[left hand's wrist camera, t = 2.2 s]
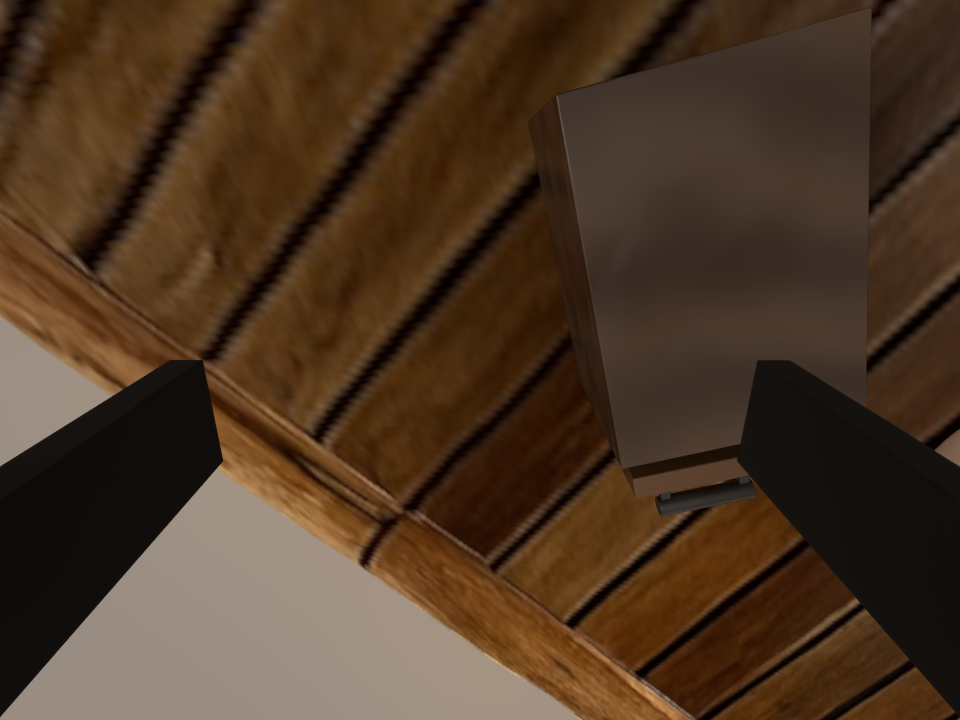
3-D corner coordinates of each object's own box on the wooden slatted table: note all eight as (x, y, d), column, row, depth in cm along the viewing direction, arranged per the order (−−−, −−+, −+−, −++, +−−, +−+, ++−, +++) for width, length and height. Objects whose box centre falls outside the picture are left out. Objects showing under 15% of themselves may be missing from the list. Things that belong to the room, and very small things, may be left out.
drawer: (753, 453, 35) (839, 541, 27) (609, 483, 36) (649, 578, 28) (730, 144, 28) (836, 133, 20) (554, 190, 29) (584, 198, 21)
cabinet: (747, 341, 33) (866, 417, 23) (579, 380, 34) (621, 469, 24) (727, 66, 28) (872, 6, 18) (527, 121, 29) (555, 94, 19)
